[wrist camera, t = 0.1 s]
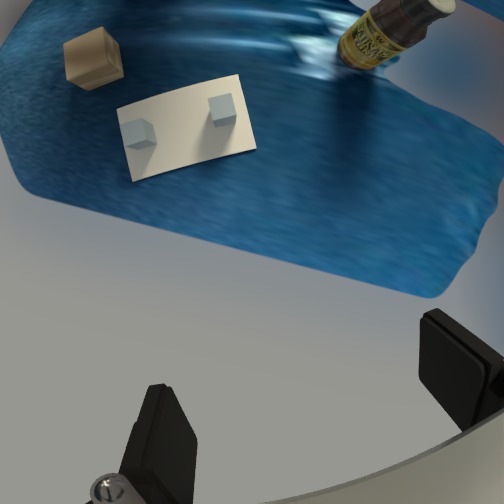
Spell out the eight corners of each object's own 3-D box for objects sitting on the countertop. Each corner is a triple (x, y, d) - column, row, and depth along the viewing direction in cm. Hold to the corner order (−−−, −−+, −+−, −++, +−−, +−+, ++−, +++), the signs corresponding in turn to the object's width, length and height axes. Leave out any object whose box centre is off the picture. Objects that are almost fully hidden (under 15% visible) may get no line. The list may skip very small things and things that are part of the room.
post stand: (117, 109, 36) (101, 100, 30) (237, 75, 36) (239, 59, 30) (133, 181, 38) (118, 183, 32) (256, 148, 38) (260, 144, 33)
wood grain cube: (84, 59, 33) (63, 44, 27) (118, 44, 33) (102, 26, 27) (88, 91, 35) (66, 79, 28) (124, 77, 35) (106, 61, 28)
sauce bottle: (327, 50, 35) (391, -23, 16) (352, 26, 35) (420, -44, 15) (363, 82, 37) (449, 32, 17) (386, 57, 36) (471, 5, 17)
